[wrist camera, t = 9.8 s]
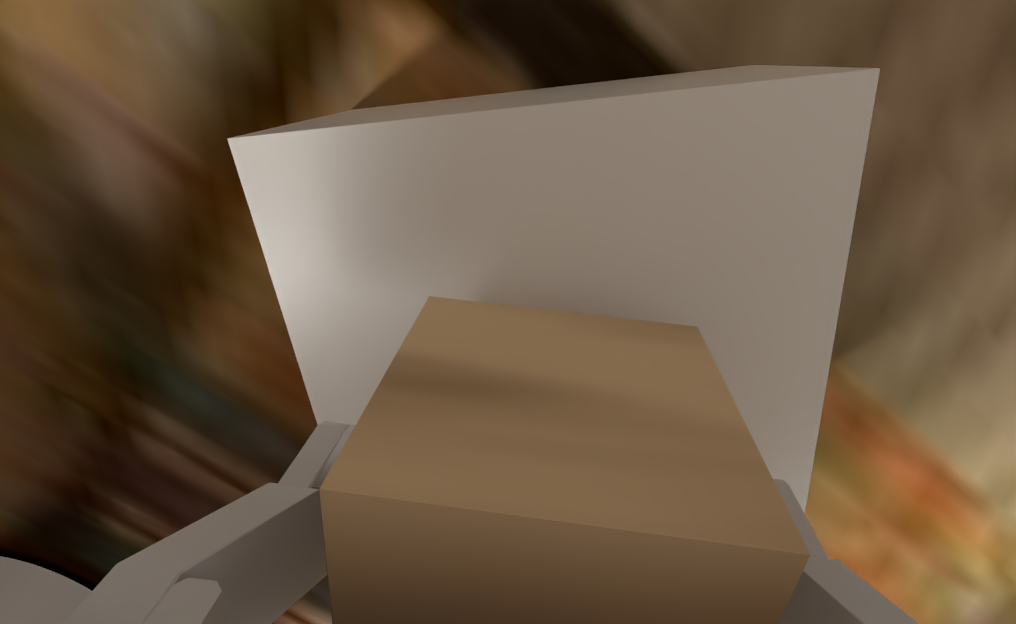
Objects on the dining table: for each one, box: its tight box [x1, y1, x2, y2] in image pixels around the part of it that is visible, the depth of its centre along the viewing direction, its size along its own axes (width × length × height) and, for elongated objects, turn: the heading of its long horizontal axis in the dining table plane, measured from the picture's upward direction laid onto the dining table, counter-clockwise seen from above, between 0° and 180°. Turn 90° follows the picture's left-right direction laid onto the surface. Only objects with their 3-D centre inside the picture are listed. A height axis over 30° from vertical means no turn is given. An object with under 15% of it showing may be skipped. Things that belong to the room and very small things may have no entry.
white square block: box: [228, 65, 880, 514], centre depth 15 cm, size 12×12×7 cm
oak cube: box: [319, 296, 810, 624], centre depth 9 cm, size 5×5×5 cm
